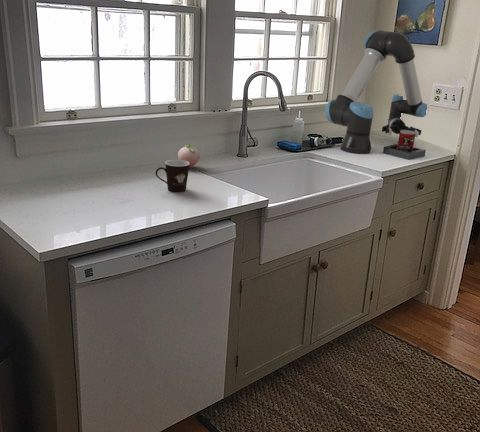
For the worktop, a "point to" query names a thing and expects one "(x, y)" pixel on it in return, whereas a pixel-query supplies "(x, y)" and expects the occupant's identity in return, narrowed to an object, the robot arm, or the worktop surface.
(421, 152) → the square holder
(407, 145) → the canned food
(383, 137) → the worktop surface
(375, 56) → the robot arm
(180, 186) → the coffee mug
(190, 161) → the decorative fruit
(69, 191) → the worktop surface
